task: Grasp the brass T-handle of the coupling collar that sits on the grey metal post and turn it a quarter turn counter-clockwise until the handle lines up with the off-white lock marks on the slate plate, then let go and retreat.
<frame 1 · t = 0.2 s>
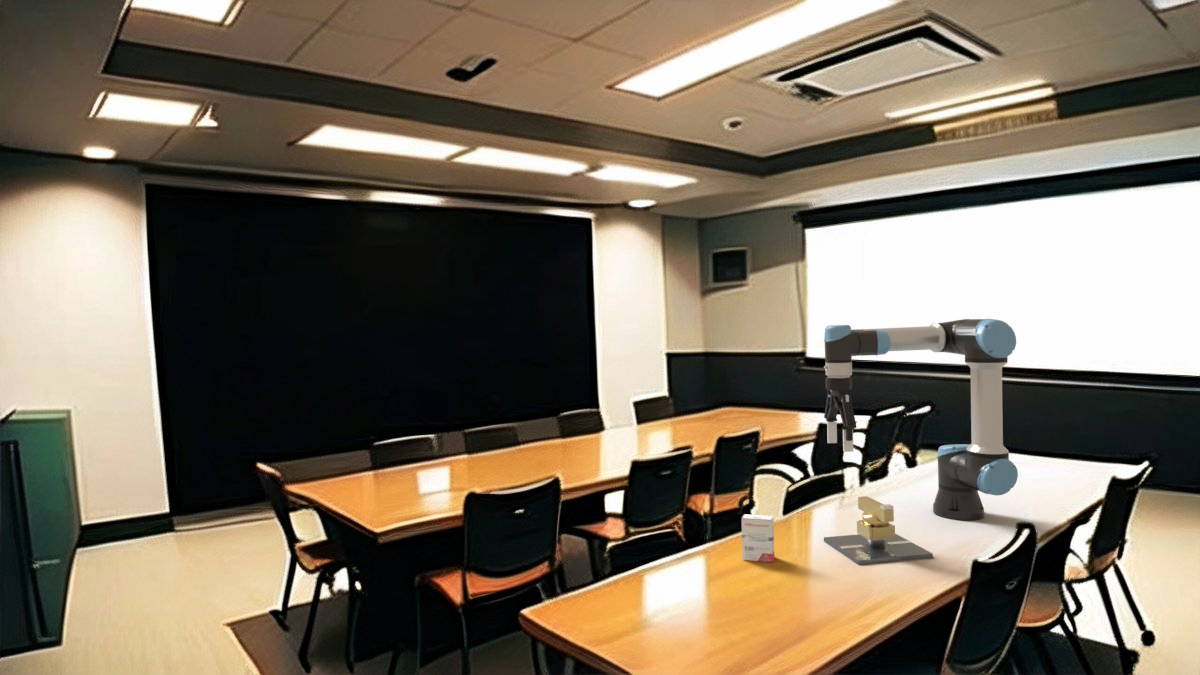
hand: (840, 447, 208), 28 cm above the table, fingers open, 13 cm apart
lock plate: (876, 549, 199), on the table
ink box: (758, 559, 195), on the table
collar: (875, 517, 199), point 9 cm above the table, hinge at 0.0°
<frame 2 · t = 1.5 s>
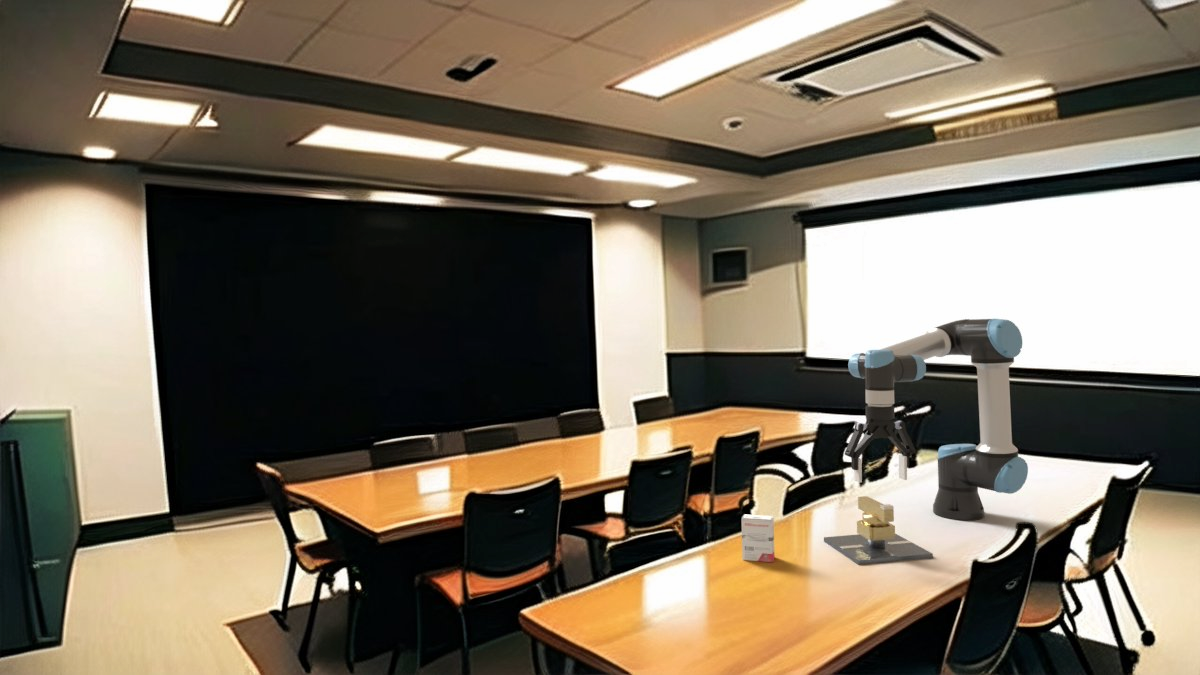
hand: (880, 480, 195), 21 cm above the table, fingers open, 13 cm apart
nothing on the table moved.
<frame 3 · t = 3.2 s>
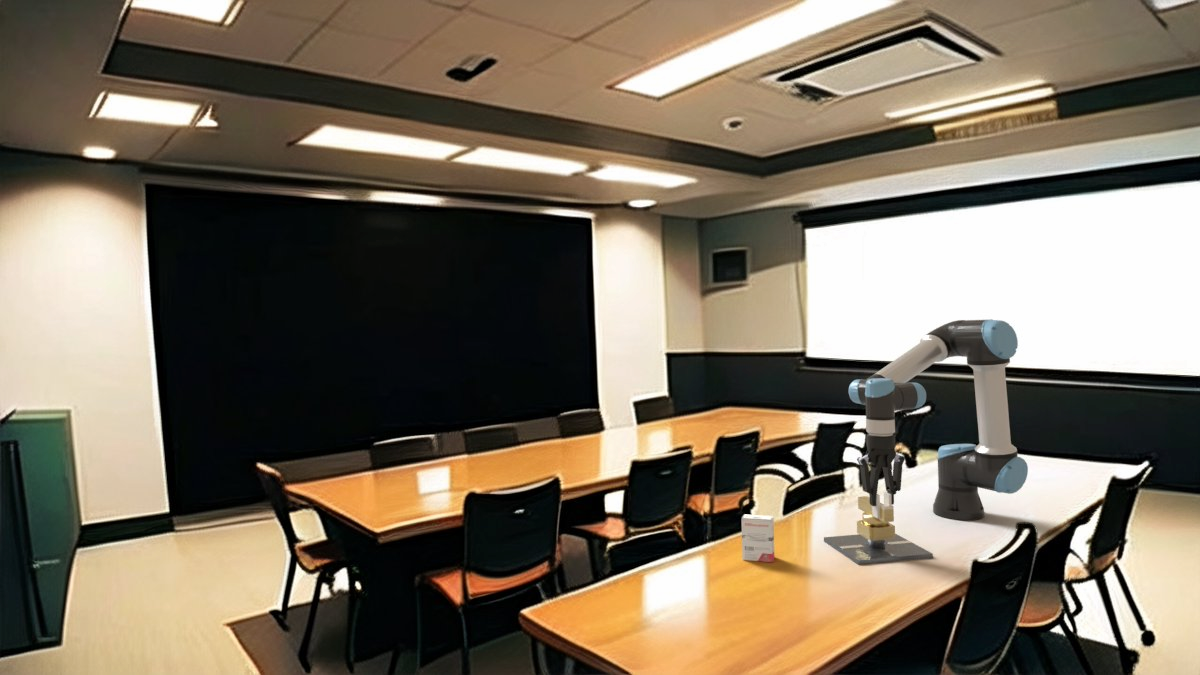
hand: (882, 516, 196), 11 cm above the table, fingers closed on collar, 3 cm apart
collar: (875, 517, 199), point 9 cm above the table, hinge at 0.0°, touching gripper
everything else where it was.
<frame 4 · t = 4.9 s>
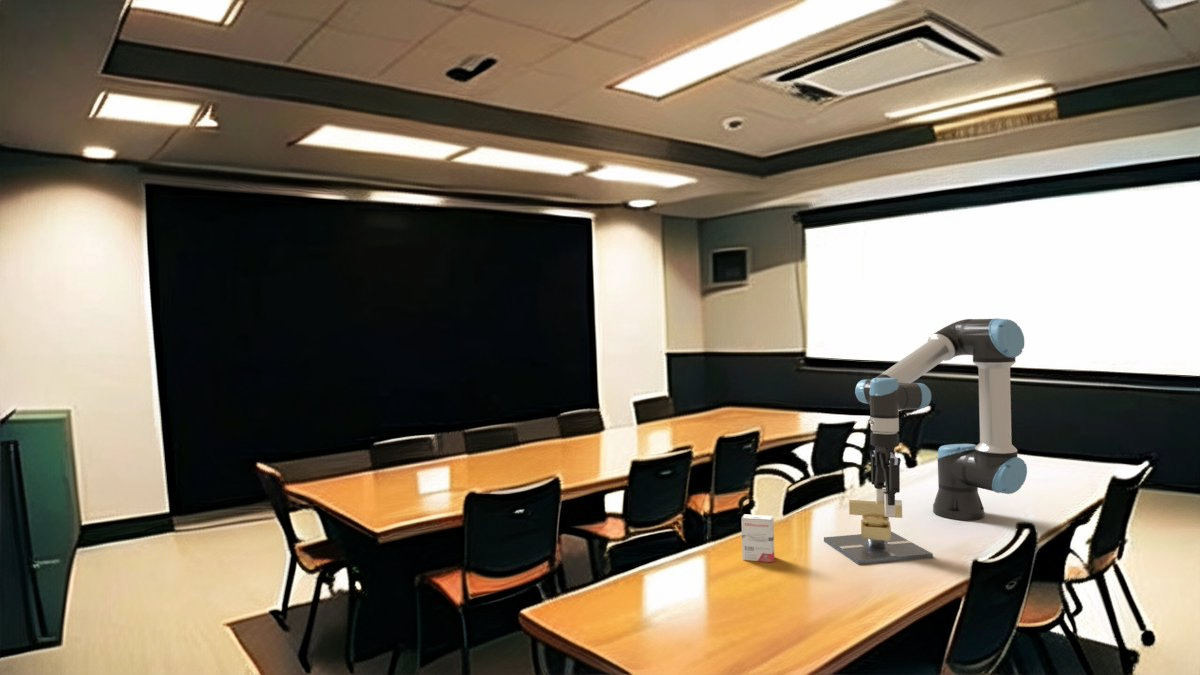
hand: (885, 513, 198), 11 cm above the table, fingers closed on collar, 4 cm apart
collar: (875, 517, 199), point 9 cm above the table, hinge at 61.2°, touching gripper
everything else where it was.
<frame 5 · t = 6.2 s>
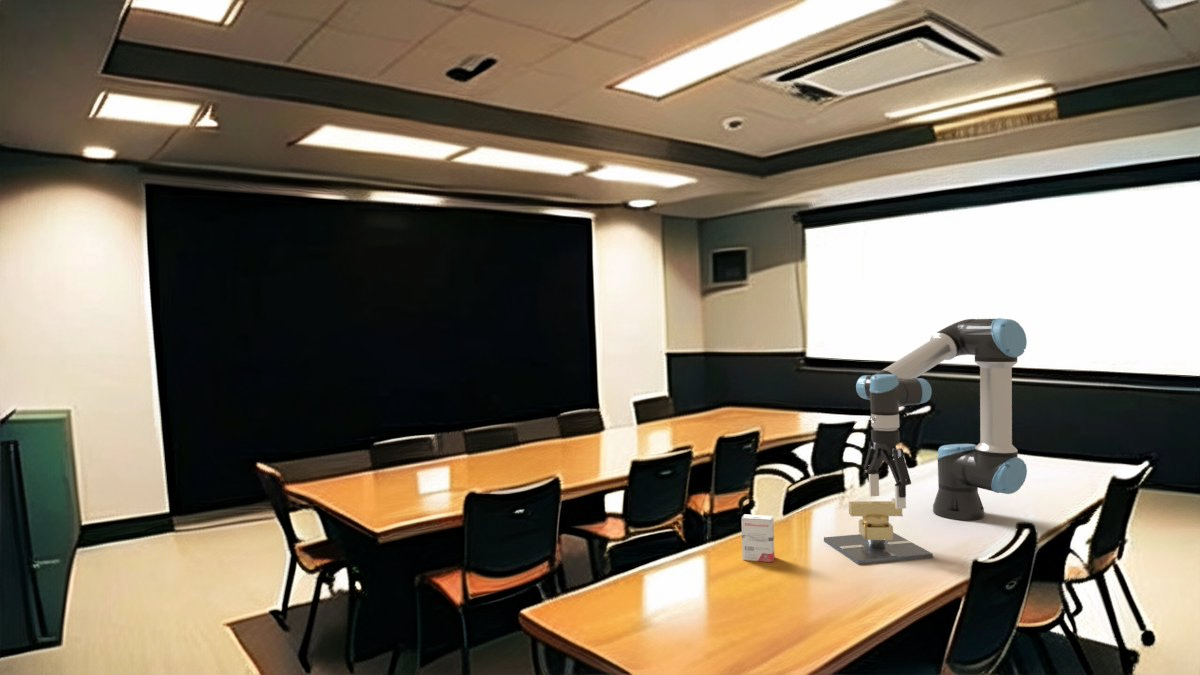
hand: (887, 502, 200), 13 cm above the table, fingers open, 13 cm apart
collar: (875, 517, 199), point 9 cm above the table, hinge at 76.2°
everything else where it was.
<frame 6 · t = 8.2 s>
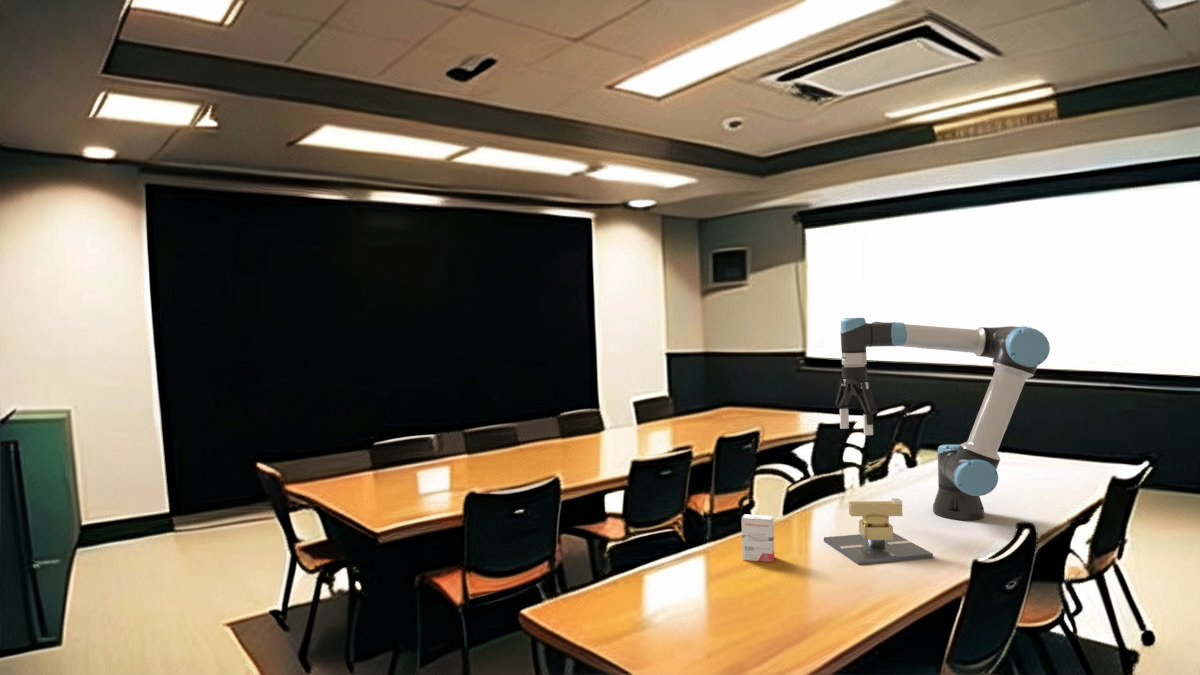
hand: (856, 431, 223), 30 cm above the table, fingers open, 13 cm apart
nothing on the table moved.
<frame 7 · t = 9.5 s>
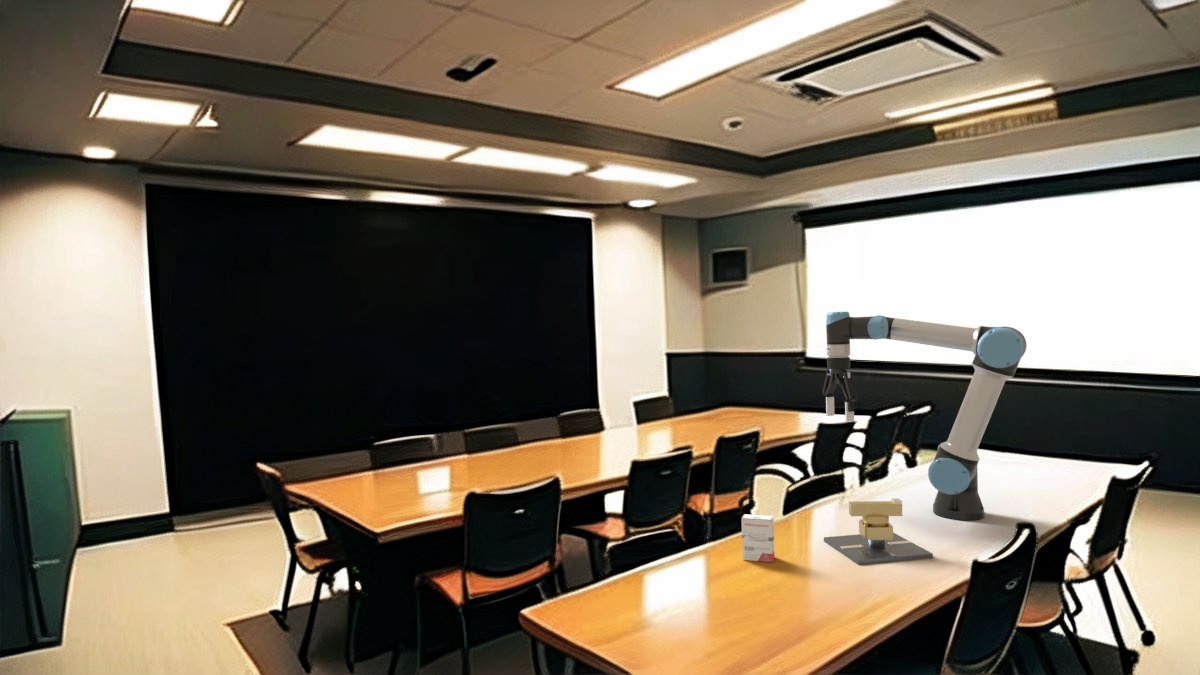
hand: (839, 418, 239), 32 cm above the table, fingers open, 13 cm apart
nothing on the table moved.
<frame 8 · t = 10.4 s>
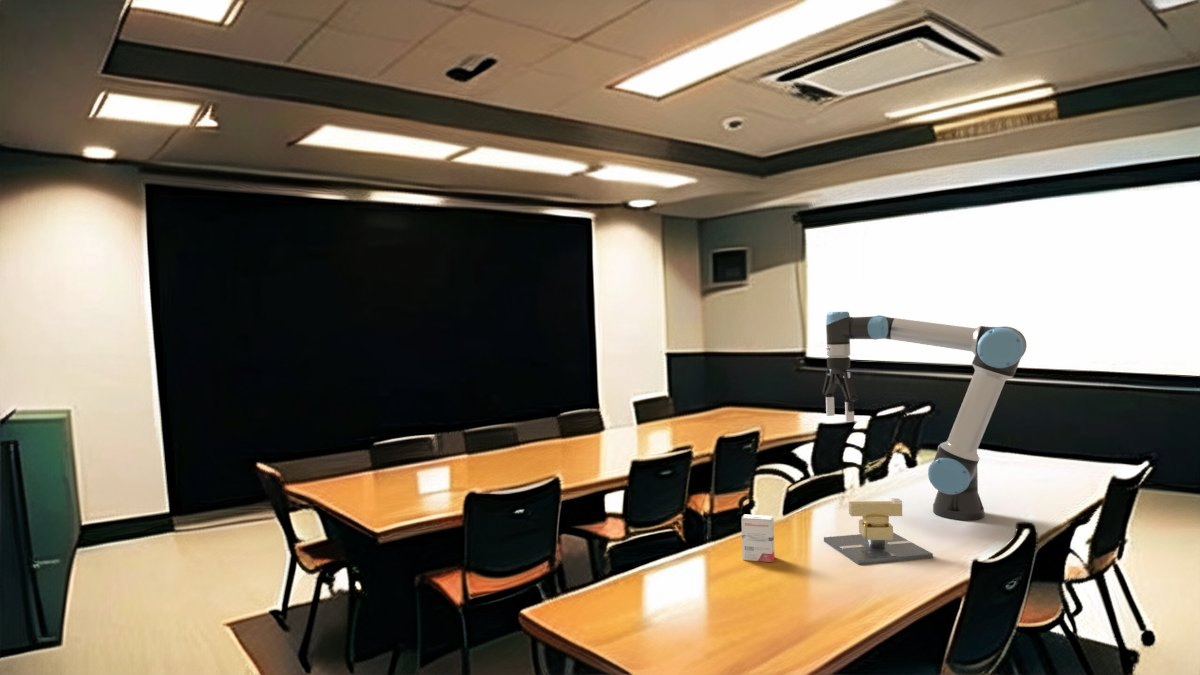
hand: (839, 418, 239), 32 cm above the table, fingers open, 13 cm apart
nothing on the table moved.
at the end: collar at +76° (first picture: +0°); the gripper is holding nothing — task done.
